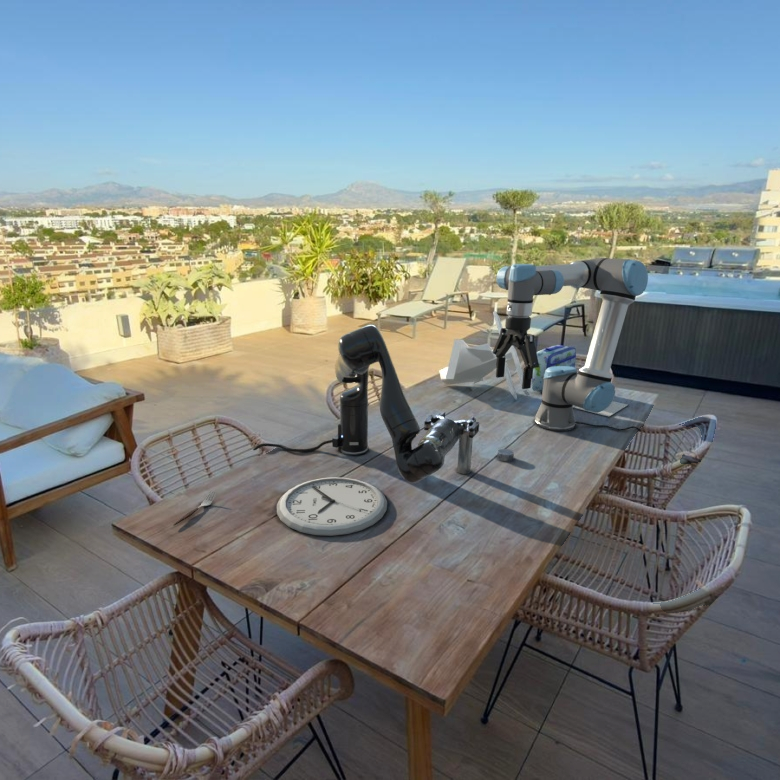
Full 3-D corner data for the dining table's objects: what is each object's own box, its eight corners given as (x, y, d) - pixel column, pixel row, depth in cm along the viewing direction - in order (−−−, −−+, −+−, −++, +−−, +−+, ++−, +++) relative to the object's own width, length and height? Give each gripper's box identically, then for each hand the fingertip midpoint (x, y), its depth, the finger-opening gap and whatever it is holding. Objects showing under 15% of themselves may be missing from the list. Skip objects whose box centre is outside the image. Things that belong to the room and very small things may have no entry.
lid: (516, 458, 174) (516, 452, 173) (507, 463, 170) (507, 456, 170) (503, 453, 177) (504, 447, 177) (494, 458, 174) (494, 451, 173)
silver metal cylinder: (470, 474, 162) (473, 427, 157) (457, 473, 163) (460, 426, 158) (470, 468, 166) (473, 422, 161) (457, 467, 166) (460, 421, 162)
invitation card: (608, 416, 214) (573, 407, 224) (608, 416, 214) (573, 408, 224) (628, 404, 229) (594, 396, 238) (628, 405, 229) (594, 397, 238)
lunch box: (548, 397, 237) (553, 352, 230) (527, 392, 244) (531, 348, 238) (575, 386, 254) (580, 344, 248) (555, 382, 261) (559, 340, 255)
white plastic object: (461, 429, 252) (437, 405, 227) (444, 352, 274) (420, 323, 250) (535, 404, 240) (518, 377, 215) (510, 326, 262) (492, 293, 237)
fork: (169, 526, 131) (168, 519, 131) (210, 497, 146) (210, 490, 145) (177, 528, 130) (176, 521, 130) (218, 498, 145) (217, 492, 144)
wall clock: (392, 527, 129) (268, 531, 127) (391, 533, 130) (269, 537, 127) (383, 473, 158) (282, 475, 155) (383, 478, 158) (282, 480, 156)
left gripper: (469, 428, 130) (484, 408, 145) (415, 419, 135) (434, 401, 150) (467, 455, 133) (482, 433, 147) (414, 446, 138) (433, 425, 152)
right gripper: (485, 310, 169) (480, 373, 175) (535, 323, 147) (528, 395, 154) (504, 309, 172) (499, 371, 178) (556, 322, 150) (548, 392, 157)
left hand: (458, 417), depth 148 cm, fingers open, 8 cm apart
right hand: (512, 382), depth 166 cm, fingers open, 13 cm apart
